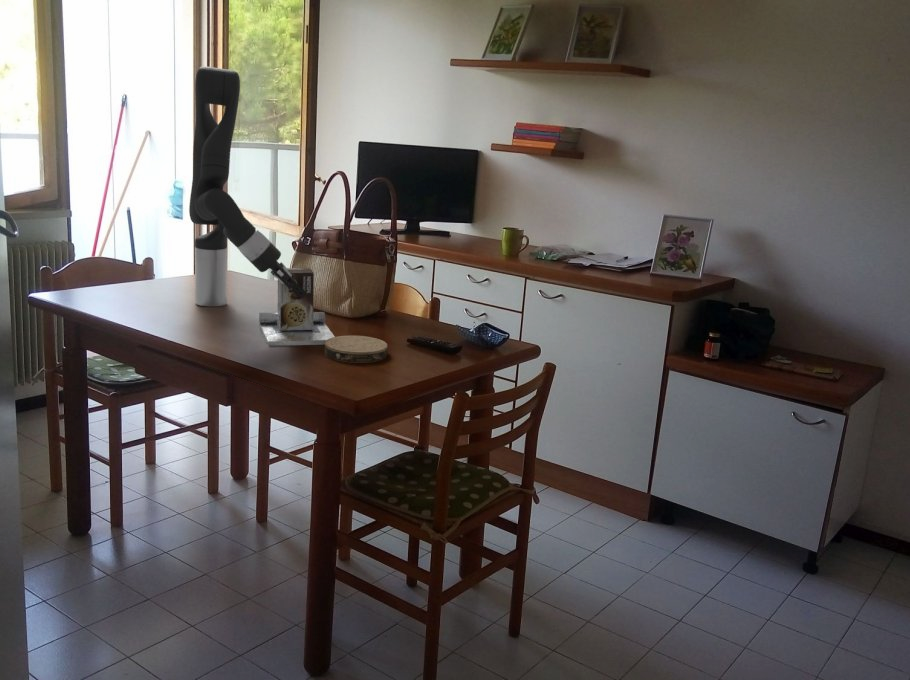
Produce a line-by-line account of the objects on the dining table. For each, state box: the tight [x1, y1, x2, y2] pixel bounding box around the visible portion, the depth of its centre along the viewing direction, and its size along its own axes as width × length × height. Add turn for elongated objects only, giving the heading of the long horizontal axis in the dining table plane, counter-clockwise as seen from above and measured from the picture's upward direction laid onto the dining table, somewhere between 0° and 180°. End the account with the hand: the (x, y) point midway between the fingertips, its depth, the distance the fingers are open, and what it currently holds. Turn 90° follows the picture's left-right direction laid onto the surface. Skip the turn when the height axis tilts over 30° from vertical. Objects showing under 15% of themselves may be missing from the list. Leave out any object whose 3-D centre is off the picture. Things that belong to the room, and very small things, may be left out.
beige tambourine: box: [324, 335, 388, 364], centre depth 213 cm, size 16×16×3 cm
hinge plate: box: [258, 311, 336, 347], centre depth 226 cm, size 20×18×4 cm
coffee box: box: [277, 267, 315, 331], centre depth 226 cm, size 9×6×16 cm
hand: (301, 292), depth 226 cm, fingers open, 8 cm apart
